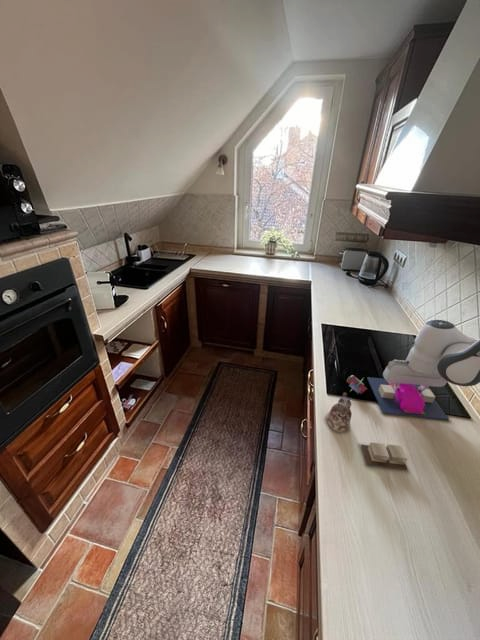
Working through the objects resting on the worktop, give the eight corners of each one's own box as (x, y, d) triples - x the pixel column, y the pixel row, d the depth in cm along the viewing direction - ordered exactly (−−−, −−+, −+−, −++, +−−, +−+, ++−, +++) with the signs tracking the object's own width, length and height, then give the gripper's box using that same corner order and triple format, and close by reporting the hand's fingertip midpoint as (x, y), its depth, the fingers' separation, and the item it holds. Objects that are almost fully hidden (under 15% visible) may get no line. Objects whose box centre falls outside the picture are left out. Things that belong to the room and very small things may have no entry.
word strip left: (397, 450, 78) (402, 443, 76) (406, 470, 73) (411, 462, 71) (360, 446, 79) (364, 438, 77) (367, 465, 74) (370, 457, 72)
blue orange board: (422, 383, 104) (425, 376, 102) (448, 420, 88) (453, 413, 86) (366, 378, 106) (369, 371, 104) (382, 413, 90) (385, 406, 88)
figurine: (325, 426, 85) (332, 401, 79) (328, 411, 91) (335, 386, 84) (347, 435, 82) (357, 409, 76) (349, 418, 88) (358, 393, 82)
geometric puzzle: (373, 388, 98) (364, 370, 97) (367, 399, 93) (358, 379, 93) (355, 389, 103) (347, 372, 102) (348, 399, 98) (340, 380, 98)
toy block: (420, 413, 89) (428, 398, 86) (400, 409, 91) (408, 394, 87) (408, 384, 102) (415, 369, 98) (391, 380, 103) (397, 366, 100)
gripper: (393, 365, 86) (381, 394, 93) (457, 371, 85) (440, 400, 91) (386, 353, 92) (375, 382, 99) (446, 359, 90) (431, 387, 97)
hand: (407, 390), depth 95 cm, fingers closed on toy block, 6 cm apart
